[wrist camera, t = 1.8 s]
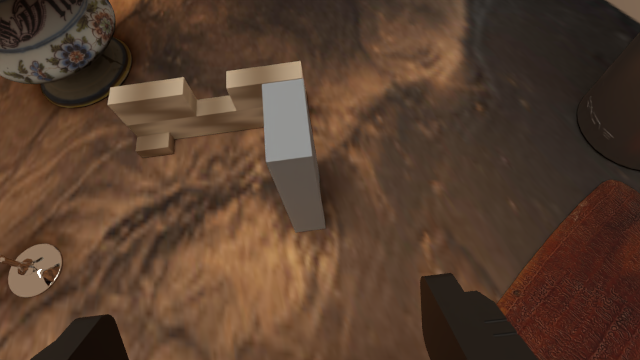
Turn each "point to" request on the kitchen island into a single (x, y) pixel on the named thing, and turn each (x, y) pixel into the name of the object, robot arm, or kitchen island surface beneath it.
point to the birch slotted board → (194, 107)
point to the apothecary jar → (63, 48)
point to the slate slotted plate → (292, 153)
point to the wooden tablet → (584, 283)
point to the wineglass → (33, 270)
